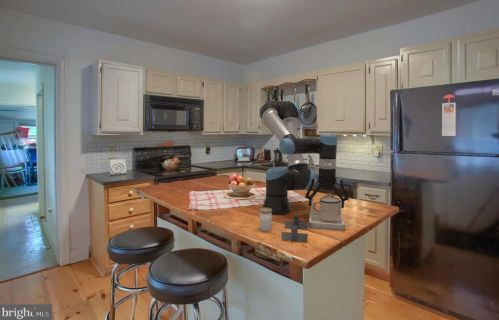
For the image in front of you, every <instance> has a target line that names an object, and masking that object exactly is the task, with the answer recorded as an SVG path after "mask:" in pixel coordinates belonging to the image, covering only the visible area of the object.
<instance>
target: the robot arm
mask: <svg viewBox="0 0 499 320" xmlns="http://www.w3.org/2000/svg"><path fill="white" fill-rule="evenodd" d="M259 111H260V112H259V117H260V119H261V120H262V121H263V122H262V123H264V124H266V125H267V126H268V127H269V128H270V130H271V132H272V133H273V134H274V135H275V136H276V137H275V138H277V140H278V141H279V145H278V147H279V152H280V153H281V154H284V155H286V156H287V161H288V165H287V166H273V167H270V168H268V169H267V171H266V174H265V198H264V201H263V204H262V208H271V209H272V215H286V214H287V215H288V214H289V213H291V210H292V209H291V207H292V206H291V204H290V201H289V198H288V192H291V191H304V190H307V191H306V193H305V196H304V197H305V199H307V200H308V207H310V209H311V210H310V211H311V214H313V212H314V209H313V204H314V197H315V196H316V195H317V193H319V191H320V190H321V189H322V188H323V189H333V191H334V192H335V194H336V195H337V196H338V199H339V200H340V202H339V216H341V215H342V209H345V201H349V200H350V198H349V196H348V193H347V192H346V191H347V190H346V189H345V187H344V184H343V183H344V181H343V179H342V178H339V179H337V178H336V177H337V176H336V173H337V169H336V168H337V149H338V141H337V140H338V139H337V137H338V136H337V135H336V134H335V133H334V134H329V133H327V134H325V133H323V134H322V133H321V134H320V135H319V137H304V138H303V137H300V136H299V132H298V128H297V124H298V122H299V119H300V117H301V109H300V105H298V103H297V102H295V101H291V100H269V101H266V102H265V103H264V104H262V106H261V108H260V110H259ZM306 154H308V155H309V154H311V155H312V154H317V155H318V156H319V157H318V167H319V168H318V178H315V173H314V170H313V169H312V168H310V167H309V166H308V163H307V162H305V160H304V159H305V158H304V156H303V155H306ZM317 182H318V185H317V187H316V188H315V189H314V191H313V192H312V193H311V191H312V190H313V187H314V186H315V184H317ZM336 183H337V184H338V185H339V186H340V189H341V191H342V194H343V196H342V194H341V193H340V192H339V190H338V189H337V187H336V186H335V184H336Z"/></svg>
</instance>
